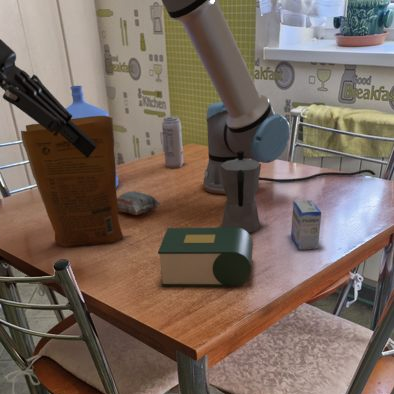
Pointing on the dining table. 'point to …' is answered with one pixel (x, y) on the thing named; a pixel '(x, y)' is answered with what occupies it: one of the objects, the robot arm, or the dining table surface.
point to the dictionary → (206, 257)
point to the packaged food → (136, 203)
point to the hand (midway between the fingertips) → (92, 151)
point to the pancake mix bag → (76, 182)
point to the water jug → (84, 109)
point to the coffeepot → (241, 193)
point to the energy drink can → (172, 141)
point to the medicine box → (305, 224)
